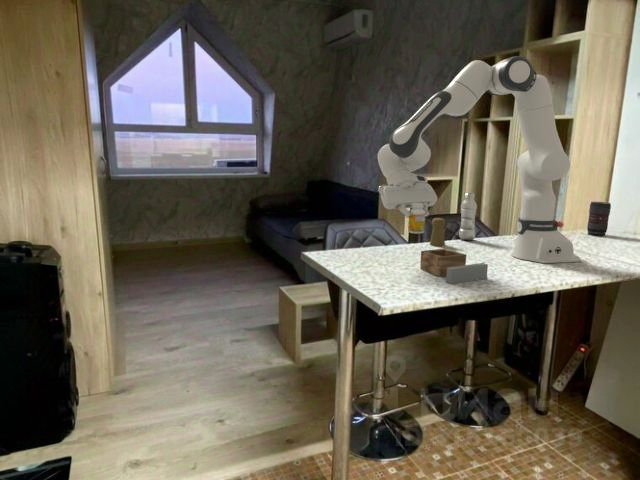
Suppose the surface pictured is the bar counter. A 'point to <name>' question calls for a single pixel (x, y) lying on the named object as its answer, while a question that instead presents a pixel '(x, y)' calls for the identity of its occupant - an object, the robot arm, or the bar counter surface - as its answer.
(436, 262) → the walnut socket block
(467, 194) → the plastic bottle
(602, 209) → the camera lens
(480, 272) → the slate wall
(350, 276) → the bar counter surface
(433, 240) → the cork
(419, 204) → the supplement bottle
